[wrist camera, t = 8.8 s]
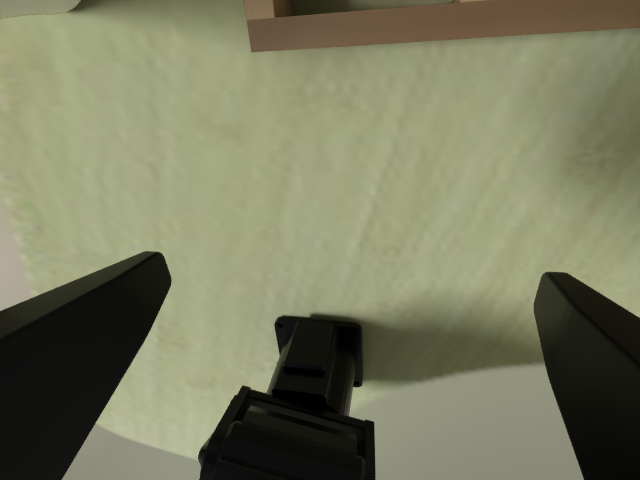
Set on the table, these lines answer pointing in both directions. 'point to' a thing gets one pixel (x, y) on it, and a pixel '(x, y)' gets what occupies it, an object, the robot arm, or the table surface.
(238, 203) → the table surface
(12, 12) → the drinking glass
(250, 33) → the socket block
